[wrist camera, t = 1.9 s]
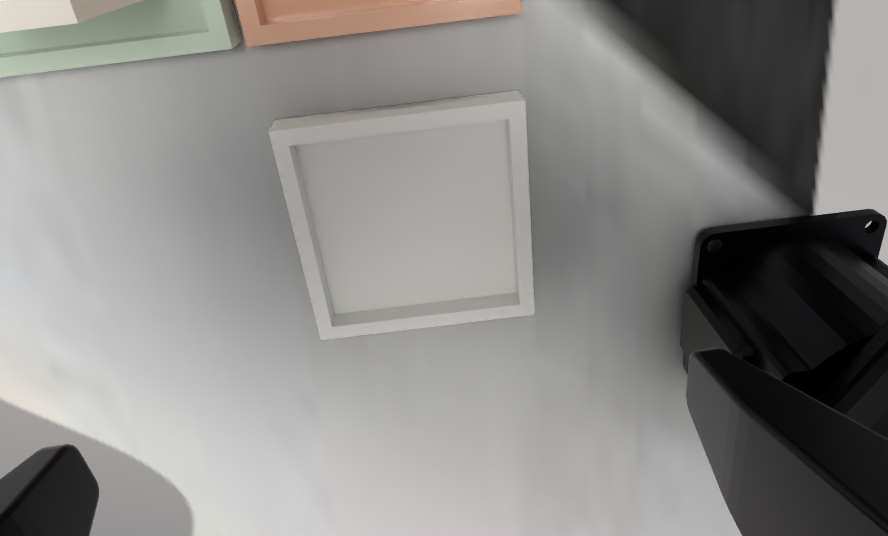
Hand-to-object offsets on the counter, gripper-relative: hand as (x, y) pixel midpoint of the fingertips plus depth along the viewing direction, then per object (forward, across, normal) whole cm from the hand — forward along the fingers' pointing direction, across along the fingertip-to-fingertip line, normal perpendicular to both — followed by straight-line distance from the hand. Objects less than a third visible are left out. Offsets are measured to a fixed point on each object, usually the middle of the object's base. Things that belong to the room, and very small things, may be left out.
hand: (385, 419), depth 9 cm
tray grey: (+13, 0, +3) cm, 13 cm away
